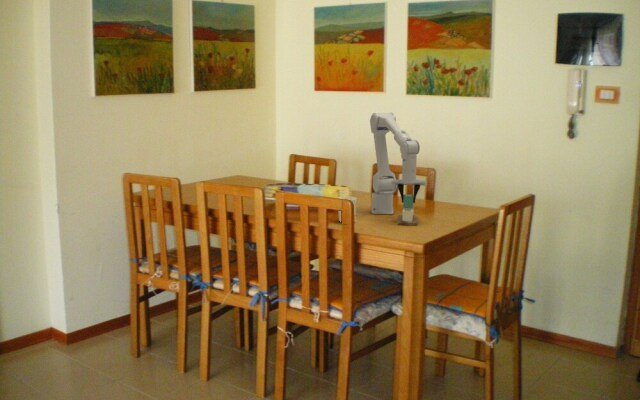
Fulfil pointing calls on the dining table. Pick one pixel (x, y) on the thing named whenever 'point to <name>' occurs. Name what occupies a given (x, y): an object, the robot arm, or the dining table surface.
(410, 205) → the block
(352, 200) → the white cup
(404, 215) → the block
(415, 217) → the mounting board
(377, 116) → the robot arm
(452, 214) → the dining table surface
